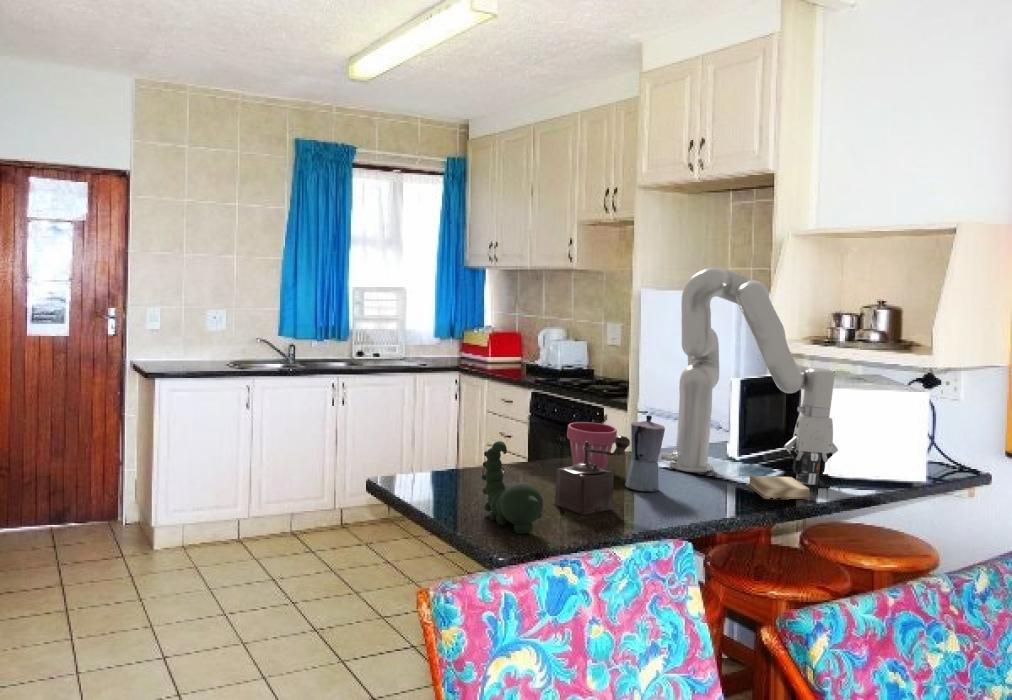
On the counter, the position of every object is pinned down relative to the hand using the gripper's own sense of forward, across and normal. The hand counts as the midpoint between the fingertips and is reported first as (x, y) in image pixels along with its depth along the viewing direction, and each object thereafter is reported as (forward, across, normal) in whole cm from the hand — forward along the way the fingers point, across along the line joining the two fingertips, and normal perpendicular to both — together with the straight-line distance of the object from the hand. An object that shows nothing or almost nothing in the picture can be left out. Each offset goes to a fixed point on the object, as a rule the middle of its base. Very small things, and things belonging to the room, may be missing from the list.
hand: (808, 473), depth 250 cm
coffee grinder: (+5, -67, -26) cm, 72 cm away
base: (+4, -12, -9) cm, 16 cm away
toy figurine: (+5, -89, -43) cm, 99 cm away
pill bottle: (+3, 0, 0) cm, 3 cm away
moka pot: (+5, -50, -9) cm, 51 cm away
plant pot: (+5, -61, +9) cm, 62 cm away
